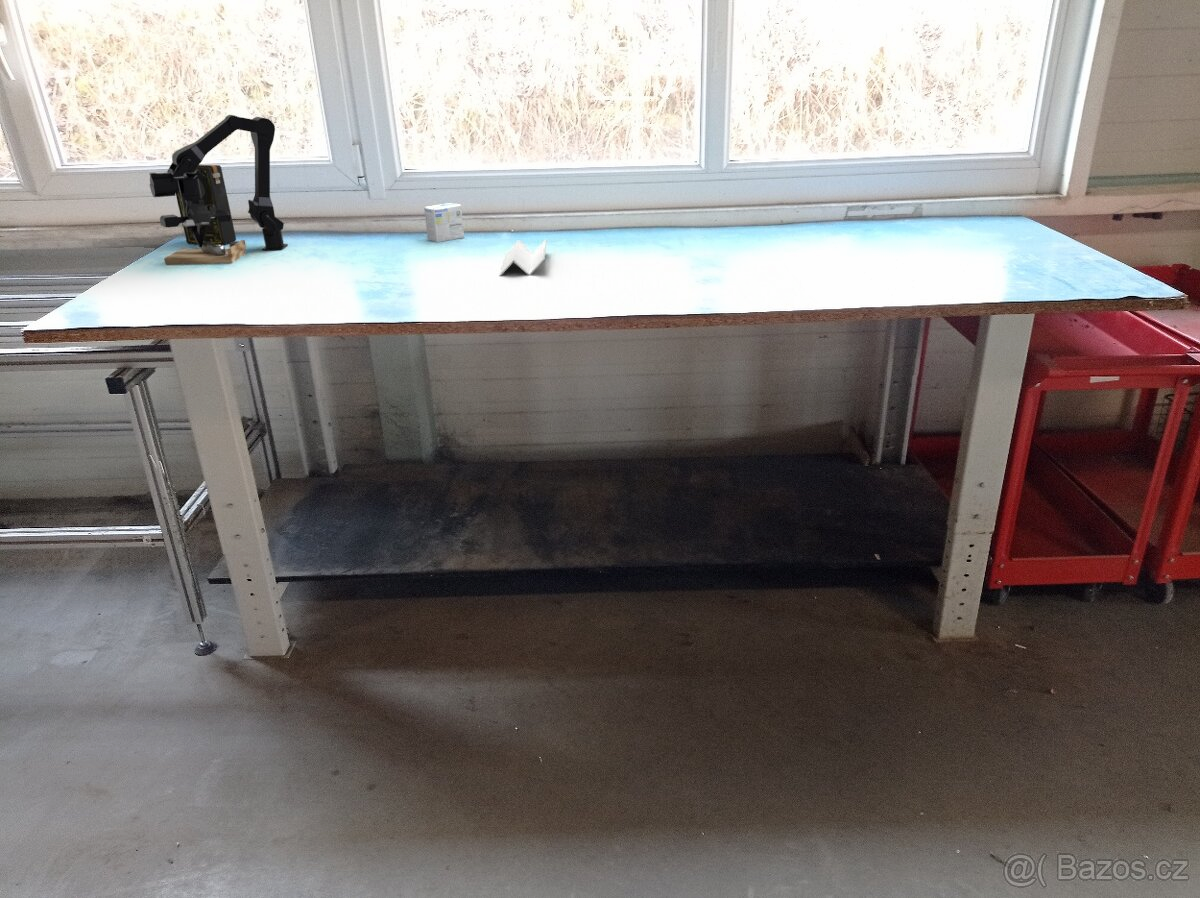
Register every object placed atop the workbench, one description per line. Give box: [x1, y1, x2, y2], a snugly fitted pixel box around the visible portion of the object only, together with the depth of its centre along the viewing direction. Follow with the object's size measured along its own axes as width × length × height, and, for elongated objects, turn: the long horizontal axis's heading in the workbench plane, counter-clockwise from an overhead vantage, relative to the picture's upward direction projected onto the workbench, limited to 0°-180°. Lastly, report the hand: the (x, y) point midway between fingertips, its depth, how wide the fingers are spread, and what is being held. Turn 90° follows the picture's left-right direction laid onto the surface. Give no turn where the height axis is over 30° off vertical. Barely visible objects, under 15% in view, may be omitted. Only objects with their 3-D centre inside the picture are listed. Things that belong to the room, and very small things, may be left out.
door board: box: [163, 239, 247, 266], centre depth 262 cm, size 12×20×4 cm, turn 91°
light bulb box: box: [423, 202, 465, 243], centre depth 280 cm, size 11×7×11 cm, turn 130°
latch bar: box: [200, 241, 226, 255], centre depth 260 cm, size 11×3×3 cm, turn 50°
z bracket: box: [498, 238, 548, 277], centre depth 249 cm, size 12×25×6 cm
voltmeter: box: [175, 164, 237, 246], centre depth 278 cm, size 16×9×25 cm, turn 73°
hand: (200, 247), depth 261 cm, fingers closed
